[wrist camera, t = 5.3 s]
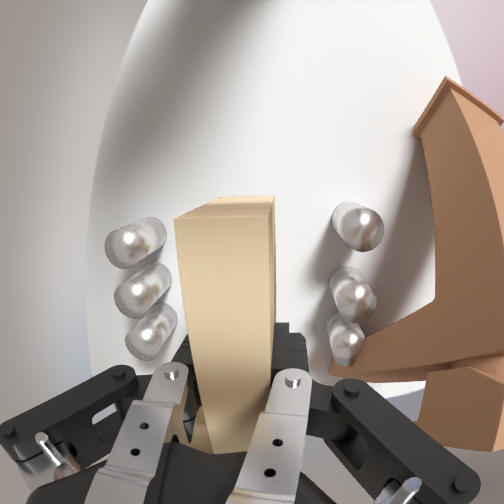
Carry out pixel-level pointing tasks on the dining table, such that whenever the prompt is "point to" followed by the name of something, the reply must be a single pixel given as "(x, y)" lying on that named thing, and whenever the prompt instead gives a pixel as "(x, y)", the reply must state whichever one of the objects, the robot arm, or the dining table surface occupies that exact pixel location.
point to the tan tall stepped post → (455, 282)
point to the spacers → (159, 280)
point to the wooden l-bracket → (229, 314)
